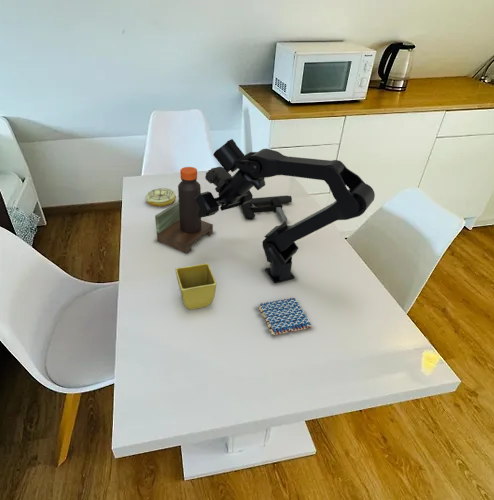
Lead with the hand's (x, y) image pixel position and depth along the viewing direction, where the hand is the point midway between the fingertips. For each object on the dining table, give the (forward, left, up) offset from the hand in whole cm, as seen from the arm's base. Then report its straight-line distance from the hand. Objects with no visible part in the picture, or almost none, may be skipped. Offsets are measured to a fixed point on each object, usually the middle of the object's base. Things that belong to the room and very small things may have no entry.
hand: (210, 212), depth 116 cm
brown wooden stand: (+7, +6, -12) cm, 15 cm away
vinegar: (+7, +4, -9) cm, 12 cm away
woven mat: (-36, -7, -12) cm, 39 cm away
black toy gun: (+13, -27, -12) cm, 32 cm away
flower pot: (-23, +12, -12) cm, 29 cm away
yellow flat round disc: (+34, +8, -12) cm, 37 cm away
